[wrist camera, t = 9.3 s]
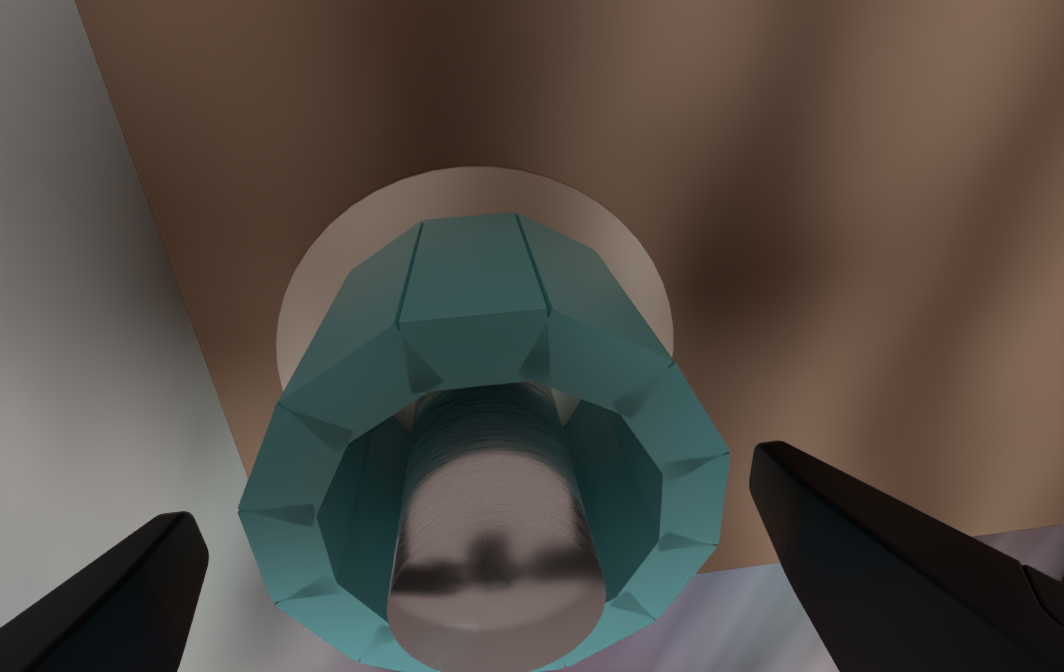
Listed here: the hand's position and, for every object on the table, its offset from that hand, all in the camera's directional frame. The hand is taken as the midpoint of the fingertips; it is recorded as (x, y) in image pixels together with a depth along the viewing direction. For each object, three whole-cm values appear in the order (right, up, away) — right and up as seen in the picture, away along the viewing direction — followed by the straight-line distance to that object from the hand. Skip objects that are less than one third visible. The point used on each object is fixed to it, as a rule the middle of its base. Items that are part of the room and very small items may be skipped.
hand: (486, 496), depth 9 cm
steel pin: (0, +2, +4) cm, 5 cm away
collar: (0, +2, +4) cm, 4 cm away
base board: (+5, +3, +6) cm, 9 cm away
